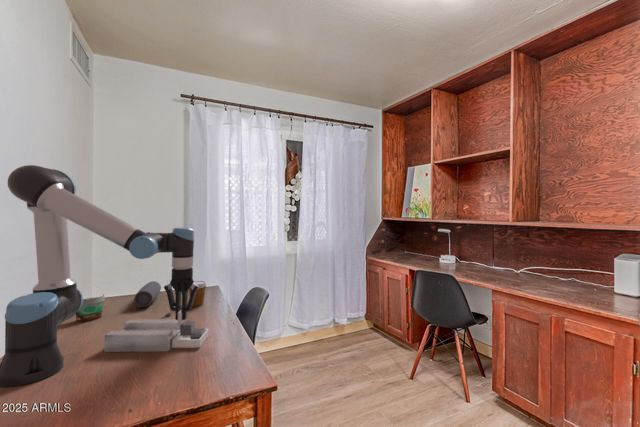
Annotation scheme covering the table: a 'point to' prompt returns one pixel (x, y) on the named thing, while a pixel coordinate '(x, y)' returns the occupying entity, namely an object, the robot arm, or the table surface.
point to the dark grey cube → (197, 333)
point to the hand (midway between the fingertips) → (180, 327)
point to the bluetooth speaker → (147, 294)
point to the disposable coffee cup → (199, 293)
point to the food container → (90, 309)
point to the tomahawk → (165, 316)
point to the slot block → (143, 336)
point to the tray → (189, 341)
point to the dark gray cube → (187, 328)
